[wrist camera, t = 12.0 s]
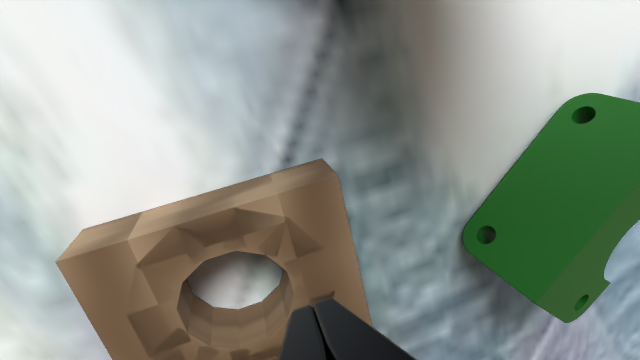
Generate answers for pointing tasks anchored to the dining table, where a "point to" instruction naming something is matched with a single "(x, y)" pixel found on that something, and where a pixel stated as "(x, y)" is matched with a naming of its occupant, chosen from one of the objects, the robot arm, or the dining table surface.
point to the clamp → (564, 205)
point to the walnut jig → (208, 242)
